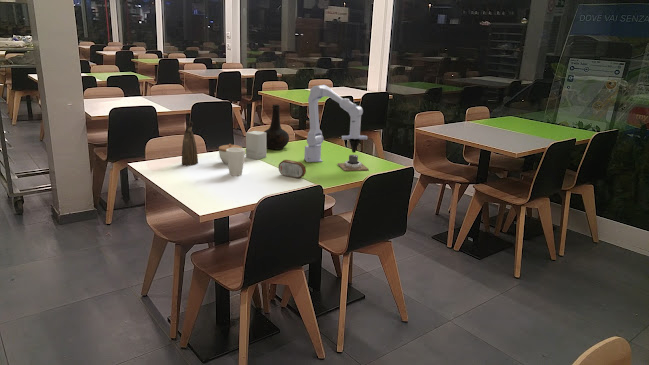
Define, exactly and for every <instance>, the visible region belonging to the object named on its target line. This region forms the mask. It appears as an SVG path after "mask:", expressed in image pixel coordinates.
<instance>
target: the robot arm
mask: <svg viewBox="0 0 649 365" xmlns="http://www.w3.org/2000/svg"><path fill="white" fill-rule="evenodd" d="M309 90H310V92H309V96H308V98H307V99H308V100H307V101H308V116H309V119H308V120H309V131H308V132H307V138H306V144H308V145H305V146H304V155H303V156H304V158H303V159H304V160H305V161H306V162H307V163H311V162H312V163H315V162H316V163H317V162H323V160H322V159H321V157H322V144H323V142H324V139H325V138H324V136H323V132H322V130H321V129H320V118H319V117H320V116H319V101H320V100H321V99H322V98H324V97H328V98H330V99H331V100H332V101H334V102H336V103H337V104H339V107H340V108H341V109H343V111H346V112H347V113H348V115H349V118H350V123H349V134H348V135H341V140H342V141H345V140H348V141H349V144H350V146H351V153H353V154H354V153H356V152H357V148H358V146H359V144H360V143H361V140H366V141H367V140H368V136H367V135H363V134H362V135H361V126H362V124H361V121H362V115H364V114H363V113H364V109H363V107H362V106H361V105H357V103H353V102H352V101H351V100H350V98H343V97H342V96H340V95H339V94H338V93H337V92H335V91H334V90H332V88H331V87H329V86H327V85H326V84H321V85H314V86H312V87H311V88H310V89H309Z"/></svg>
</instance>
